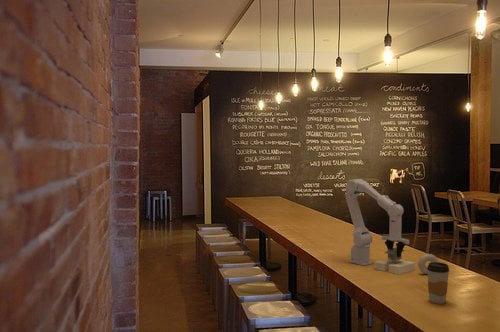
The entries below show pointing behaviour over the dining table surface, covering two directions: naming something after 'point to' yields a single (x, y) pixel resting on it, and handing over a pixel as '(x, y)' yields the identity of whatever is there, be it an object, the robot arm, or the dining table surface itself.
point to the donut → (423, 260)
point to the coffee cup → (437, 282)
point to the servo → (393, 254)
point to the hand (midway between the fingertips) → (394, 256)
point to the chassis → (395, 266)
